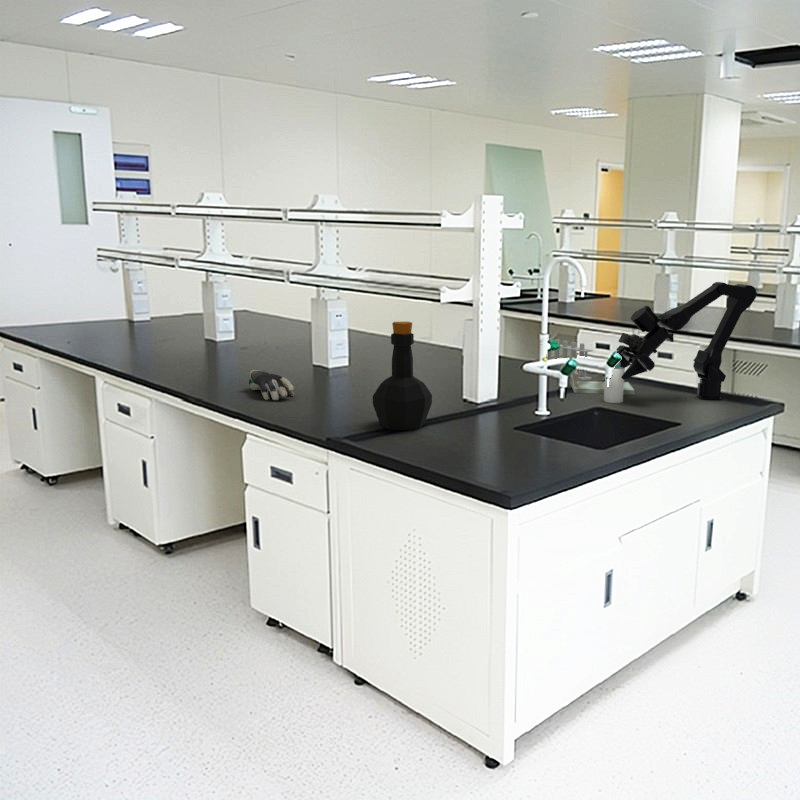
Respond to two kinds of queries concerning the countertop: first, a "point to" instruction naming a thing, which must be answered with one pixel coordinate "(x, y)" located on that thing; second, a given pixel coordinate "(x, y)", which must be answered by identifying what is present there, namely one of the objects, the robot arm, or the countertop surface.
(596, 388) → the shelf board
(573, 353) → the test tube rack
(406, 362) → the bottle
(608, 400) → the white bottle
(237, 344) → the countertop surface
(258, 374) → the glove
